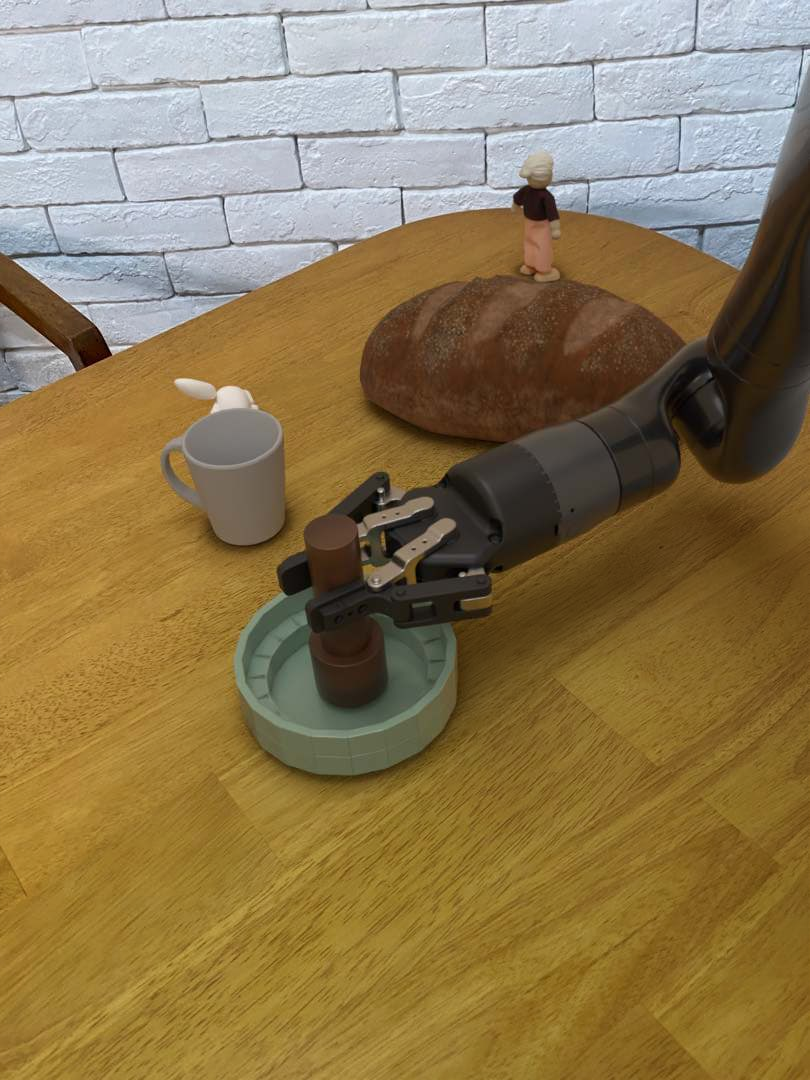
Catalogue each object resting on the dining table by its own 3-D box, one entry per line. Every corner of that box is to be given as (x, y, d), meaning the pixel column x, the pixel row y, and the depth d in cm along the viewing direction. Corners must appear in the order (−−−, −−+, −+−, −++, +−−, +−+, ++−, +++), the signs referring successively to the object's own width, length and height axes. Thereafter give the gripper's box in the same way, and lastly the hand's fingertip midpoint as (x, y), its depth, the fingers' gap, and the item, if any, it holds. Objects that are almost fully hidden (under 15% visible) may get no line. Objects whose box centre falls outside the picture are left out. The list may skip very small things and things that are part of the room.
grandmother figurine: (577, 276, 116) (582, 155, 108) (552, 290, 114) (555, 168, 106) (521, 253, 120) (522, 136, 112) (497, 266, 119) (496, 148, 110)
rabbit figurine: (280, 428, 99) (207, 431, 93) (255, 451, 101) (183, 455, 95) (254, 370, 100) (181, 370, 94) (231, 394, 103) (158, 395, 97)
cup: (281, 560, 86) (265, 471, 80) (158, 548, 88) (134, 460, 82) (308, 497, 91) (295, 410, 86) (192, 487, 93) (172, 401, 88)
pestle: (401, 687, 74) (386, 537, 65) (337, 719, 72) (312, 570, 63) (366, 643, 77) (347, 494, 68) (303, 672, 75) (275, 524, 66)
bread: (688, 477, 90) (704, 354, 83) (340, 438, 97) (326, 322, 90) (701, 371, 101) (717, 255, 94) (388, 343, 108) (379, 233, 101)
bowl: (499, 718, 73) (499, 672, 70) (304, 820, 68) (295, 774, 65) (389, 592, 82) (385, 546, 79) (211, 674, 77) (199, 628, 74)
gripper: (470, 397, 76) (235, 490, 70) (602, 507, 66) (344, 626, 60) (473, 484, 80) (254, 579, 74) (596, 599, 71) (357, 717, 65)
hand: (295, 600), depth 67 cm, fingers closed on pestle, 3 cm apart
